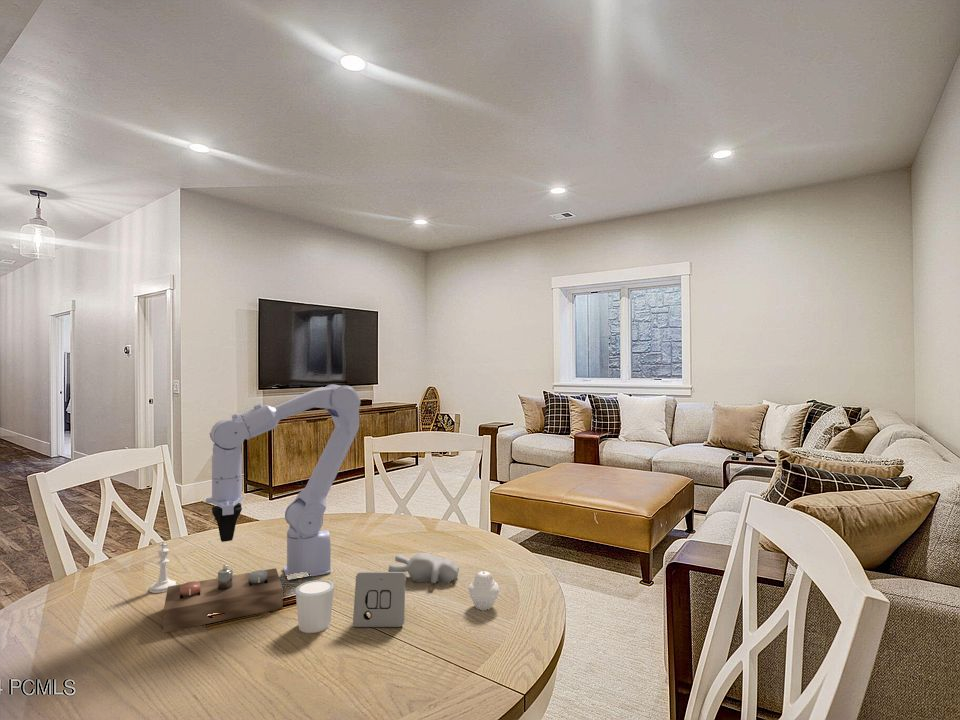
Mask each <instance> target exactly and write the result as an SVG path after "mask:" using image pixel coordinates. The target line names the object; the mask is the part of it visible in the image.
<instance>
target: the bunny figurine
mask: <svg viewBox="0 0 960 720" xmlns="http://www.w3.org/2000/svg"><path fill="white" fill-rule="evenodd" d="M394 561H395V562H398V563H400V564H396V563H395V564H394V563H393V564H389V566H388V569H387V572H406V573H408V575H409V577H410V578H411V580H412V581H414V582H418V583H428V582H431V584H436V583H437V582H439V583H441V584H445V583H446V584H449V583H451V582H452V581H453V580H457V579H458V575H459V570H460V565H457V564H456V563H455V562H454V560H452V559H450V558H444V557H442V556H435V555H433V554H431V553H428V552H418V553H416V554H415V555H413V556H412V557H410V558H409V557H406V556H404V555H402V554H396V555H395V557H394Z"/></svg>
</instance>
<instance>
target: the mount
mask: <svg viewBox="0 0 960 720" xmlns="http://www.w3.org/2000/svg"><path fill="white" fill-rule="evenodd" d="M264 570H265V571H267V580H265V584H259V585H254V586H252V583H251V582H249V574H250V573H251V572H247V573H245V572H244V573H240V574H235V575H233V576H232V587H231V588H230V589H227V590H218V577H216V578H210V579H205V580H200V581H199V580H198V581H197V582H200V591H199V592H198V593H197V596H193V597H188V598H183V595H181V594H180V586H181V585H183V584H184V583H181V584H176V585H174V586H169V587H168V589H167V591H166V596H165V601H164V605H163V617H162V619H163V621H162V622H163V630H162V631H163V634H165V633H169V632H174V631H179V630H183V629H188V628H193V627H198V626H199V627H200V626H202V625H209V624H212V623H218V622H221V621H222V622H223V621H227V620H232V619H233V620H234V619H238V618H241V617H247V616H251V615H252V616H253V615H257V614H261V613H262V614H263V613H266V612H270V611H276V610H282V609H283V605H284V604H283V595H284V594H283V589H284V588H283V585H282V582H281V579H280V576H279V573H278V569H277V568H270V569H264ZM213 613H225V614H224V615H223V614H222V615H220V616H215V617H213V618H209V617H208V616H207V615H208V614H213Z"/></svg>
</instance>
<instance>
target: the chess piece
mask: <svg viewBox="0 0 960 720" xmlns="http://www.w3.org/2000/svg"><path fill="white" fill-rule="evenodd" d="M158 545H159V547H161V549H159V550H158V551H157V554H158V555H159V560H158V561H157V564H158V565H160V569H159V574H158V575H159V576H158V580H156V582H154V583H152V584H151V585H150V587H149V592H150V593H152V594H160V593H162V594H163V593H167V589H168V587H169V586H174V585H177V582H176V580H173V579H170V578H169V577H168V571H167V570H168V569H167V564H168V563H169V562H170V560H169V559H167V558H168V555H169V554H168V553H169V552H170V549H168V548H167V547H168V546H169V544H168V543H166V541H165V540H162V541H161V543H159V544H158Z"/></svg>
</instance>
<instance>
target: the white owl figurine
mask: <svg viewBox="0 0 960 720" xmlns="http://www.w3.org/2000/svg"><path fill="white" fill-rule="evenodd" d="M493 577H494V576H493V574H491V572H489V571H485V570H484V571H483V570H482V571H478V572H477V573H476V574H475V576H474V579H473V581H472V582H471V583H470V584H468V585H469V586H468V588H467V590H468V593H469V597H470V599H471V601H472V603H473V604H474V607H475V608H476V609H477V610H479V609H480V610H479V611H488V610H491V609H492V608H491V607H493V606H494V604H495V602H496V600H497V598H498V595H499V592H500V586H499V585H498V583H497V582H496V581H495V580H494V578H493ZM487 609H488V610H487Z"/></svg>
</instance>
